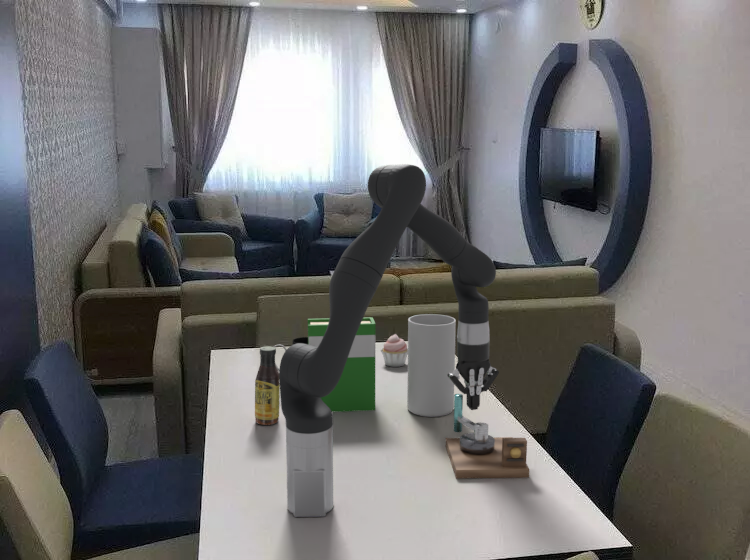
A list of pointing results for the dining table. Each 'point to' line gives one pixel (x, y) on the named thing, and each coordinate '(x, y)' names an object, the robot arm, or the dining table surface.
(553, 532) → the dining table surface
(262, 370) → the sauce bottle
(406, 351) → the cupcake
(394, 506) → the dining table surface
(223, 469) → the dining table surface
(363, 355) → the hardback book
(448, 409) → the cylinder vase
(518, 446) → the stand
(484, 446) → the lever
